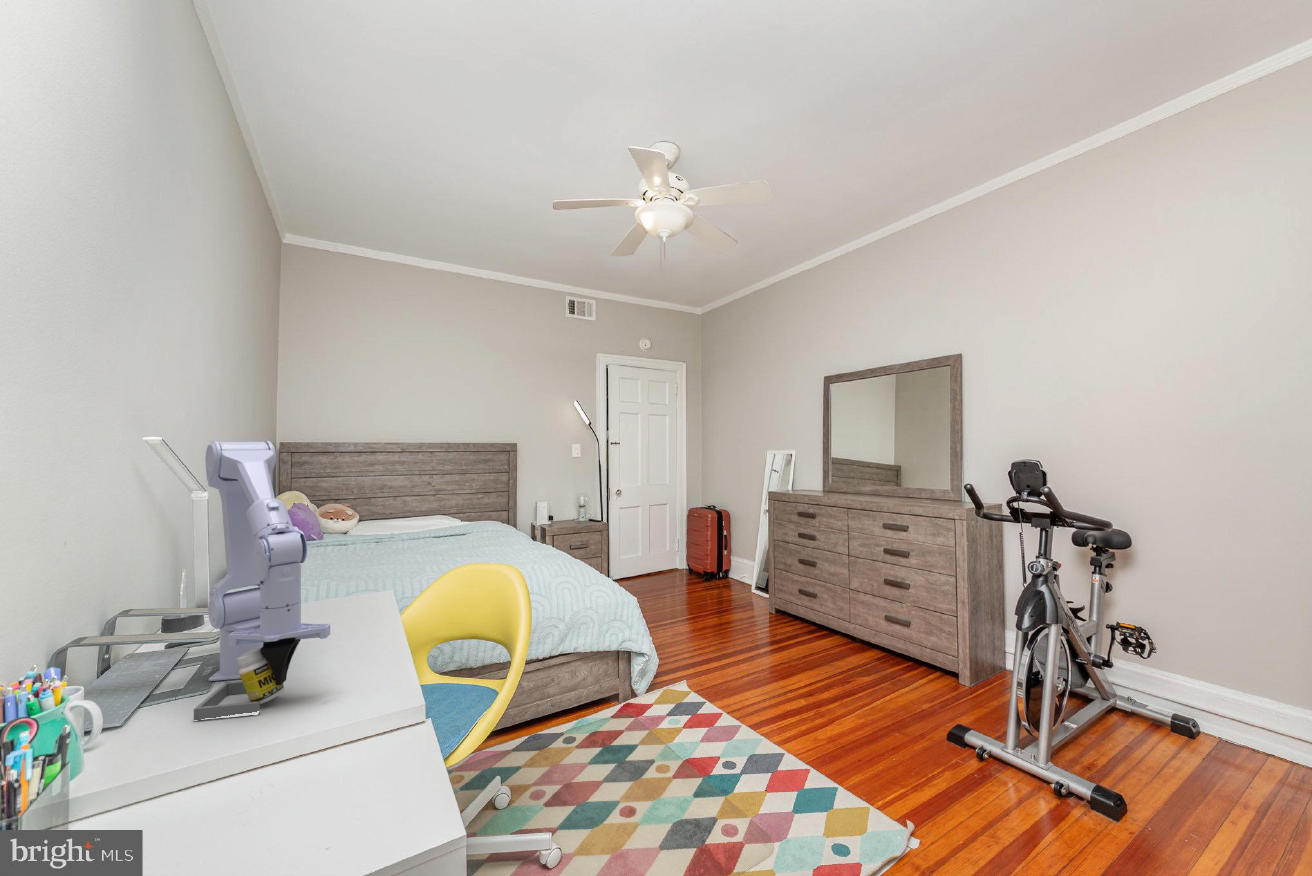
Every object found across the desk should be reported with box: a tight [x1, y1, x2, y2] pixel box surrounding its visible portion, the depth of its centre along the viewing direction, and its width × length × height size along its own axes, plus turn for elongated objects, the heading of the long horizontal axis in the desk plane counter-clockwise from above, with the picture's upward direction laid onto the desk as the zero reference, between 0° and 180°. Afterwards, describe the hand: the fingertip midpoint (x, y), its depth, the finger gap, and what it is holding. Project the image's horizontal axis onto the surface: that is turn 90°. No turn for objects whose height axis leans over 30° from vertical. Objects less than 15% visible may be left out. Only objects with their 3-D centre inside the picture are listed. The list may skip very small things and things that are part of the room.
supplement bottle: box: [237, 646, 285, 705], centre depth 90 cm, size 5×5×8 cm
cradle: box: [193, 680, 261, 721], centre depth 90 cm, size 9×9×2 cm
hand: (281, 682), depth 91 cm, fingers closed, pressing on supplement bottle
